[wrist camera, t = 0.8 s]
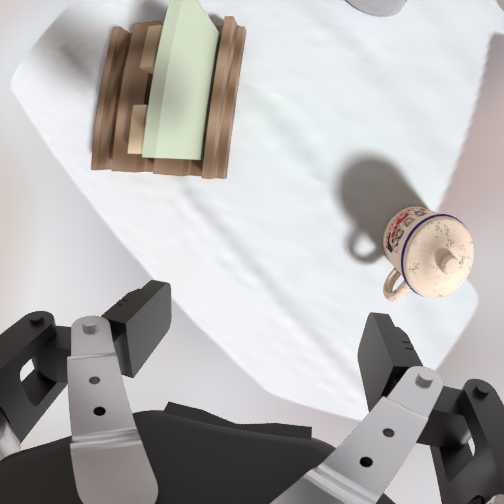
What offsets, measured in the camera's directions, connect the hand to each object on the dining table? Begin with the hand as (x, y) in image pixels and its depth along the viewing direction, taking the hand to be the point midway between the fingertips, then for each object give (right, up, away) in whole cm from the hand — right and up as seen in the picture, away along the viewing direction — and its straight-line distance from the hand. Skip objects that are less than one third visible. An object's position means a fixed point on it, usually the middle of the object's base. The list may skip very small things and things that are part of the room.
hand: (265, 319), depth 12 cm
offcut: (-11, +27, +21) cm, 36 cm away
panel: (-6, +21, +22) cm, 31 cm away
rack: (-11, +23, +24) cm, 35 cm away
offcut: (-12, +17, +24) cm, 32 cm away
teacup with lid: (+19, +3, +25) cm, 32 cm away
